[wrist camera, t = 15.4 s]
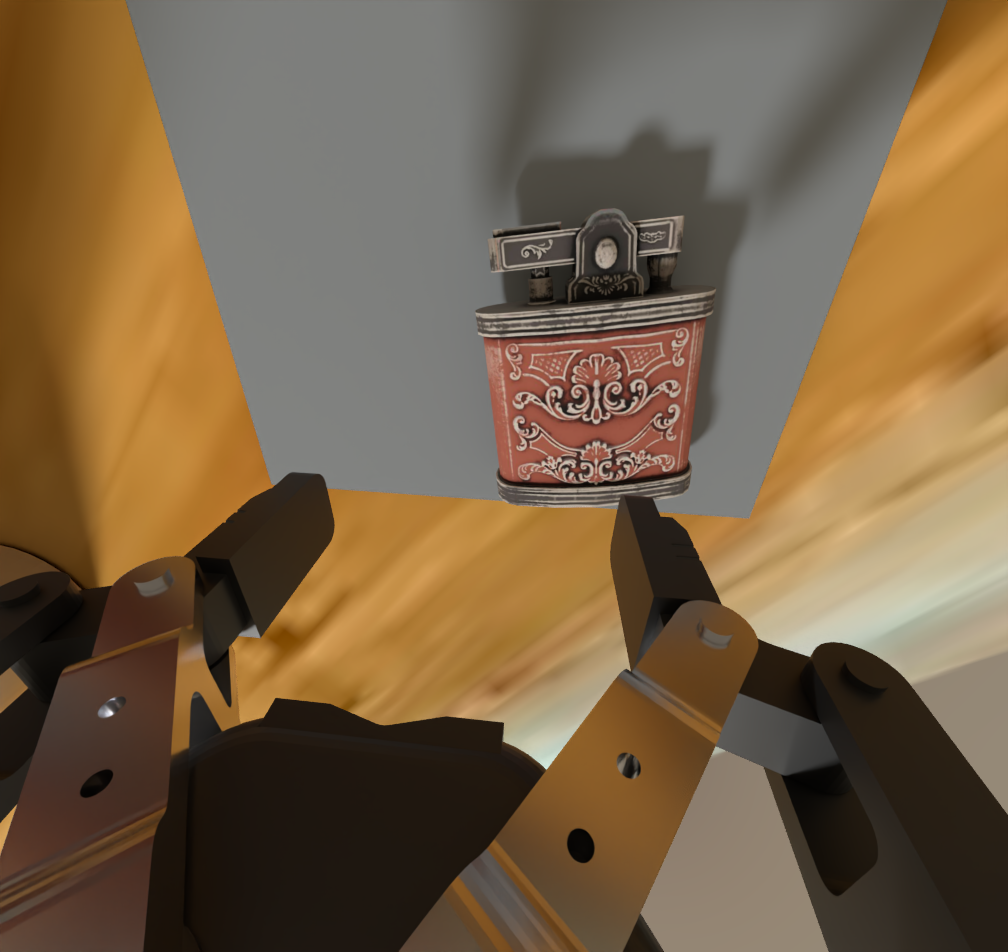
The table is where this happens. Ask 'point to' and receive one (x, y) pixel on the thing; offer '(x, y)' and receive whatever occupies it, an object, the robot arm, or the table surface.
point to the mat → (516, 200)
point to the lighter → (594, 363)
